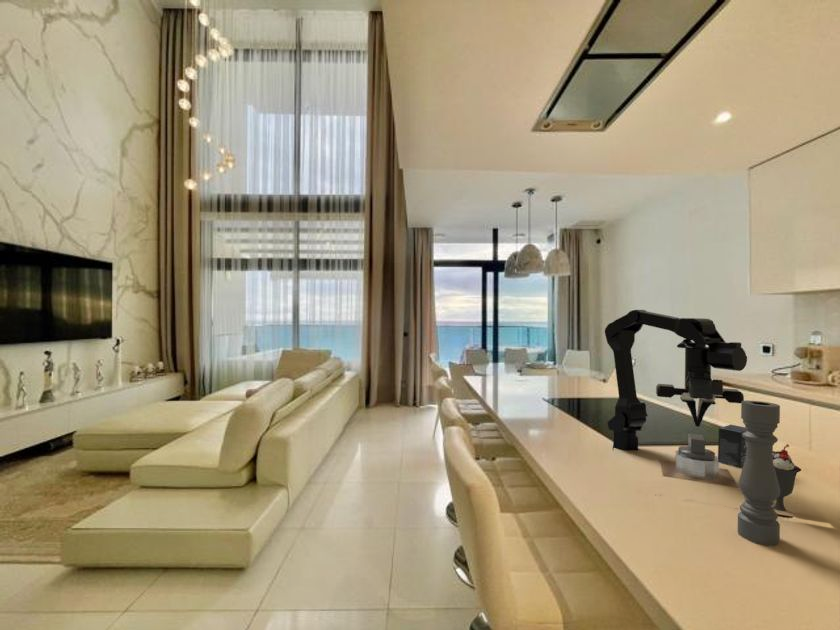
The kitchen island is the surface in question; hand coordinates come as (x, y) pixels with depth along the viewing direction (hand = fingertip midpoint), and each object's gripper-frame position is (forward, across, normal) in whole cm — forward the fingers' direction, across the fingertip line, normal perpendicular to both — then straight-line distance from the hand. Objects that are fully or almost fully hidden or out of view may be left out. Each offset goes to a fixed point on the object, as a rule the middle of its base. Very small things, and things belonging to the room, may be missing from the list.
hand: (697, 426), depth 112 cm
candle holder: (+13, +6, -32) cm, 35 cm away
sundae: (+13, +13, -17) cm, 25 cm away
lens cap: (+11, 0, 0) cm, 11 cm away
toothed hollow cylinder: (+12, 0, 0) cm, 12 cm away
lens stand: (+13, 0, 0) cm, 13 cm away
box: (+13, +11, +15) cm, 23 cm away
